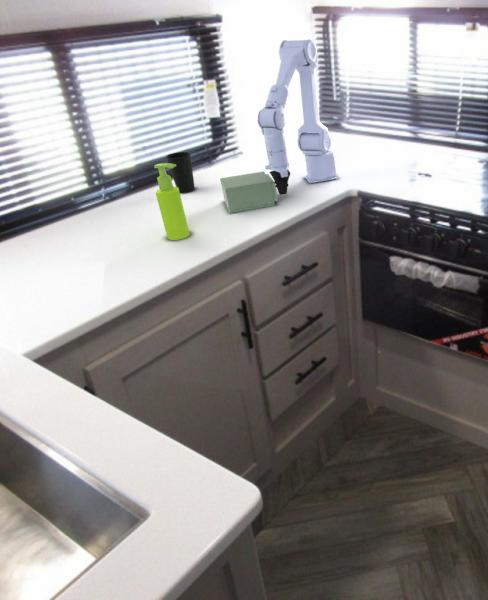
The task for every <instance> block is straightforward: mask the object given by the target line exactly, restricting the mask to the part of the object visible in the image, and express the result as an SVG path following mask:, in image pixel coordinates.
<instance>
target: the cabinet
mask: <svg viewBox="0 0 488 600" xmlns="http://www.w3.org/2000/svg"><path fill="white" fill-rule="evenodd" d="M219 180H220V185H221V190H222V195H223V196H222V197H223V200H224V203H225V206H226V208H227V210H228V212H229V214H233V213H240V212H244V211H249V210H250V211H251V210H257V209H261V208H268V207H272V206H275V205H276V204H275V202H274V196H273V190H272V184H271V180H270V179H269V178H268V177H267V175H266V172H265V171H264V170H263V171H258V172H257V171H256V172H252V173H244V174H239V175H232V176H227V177H220V178H219Z"/></svg>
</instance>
